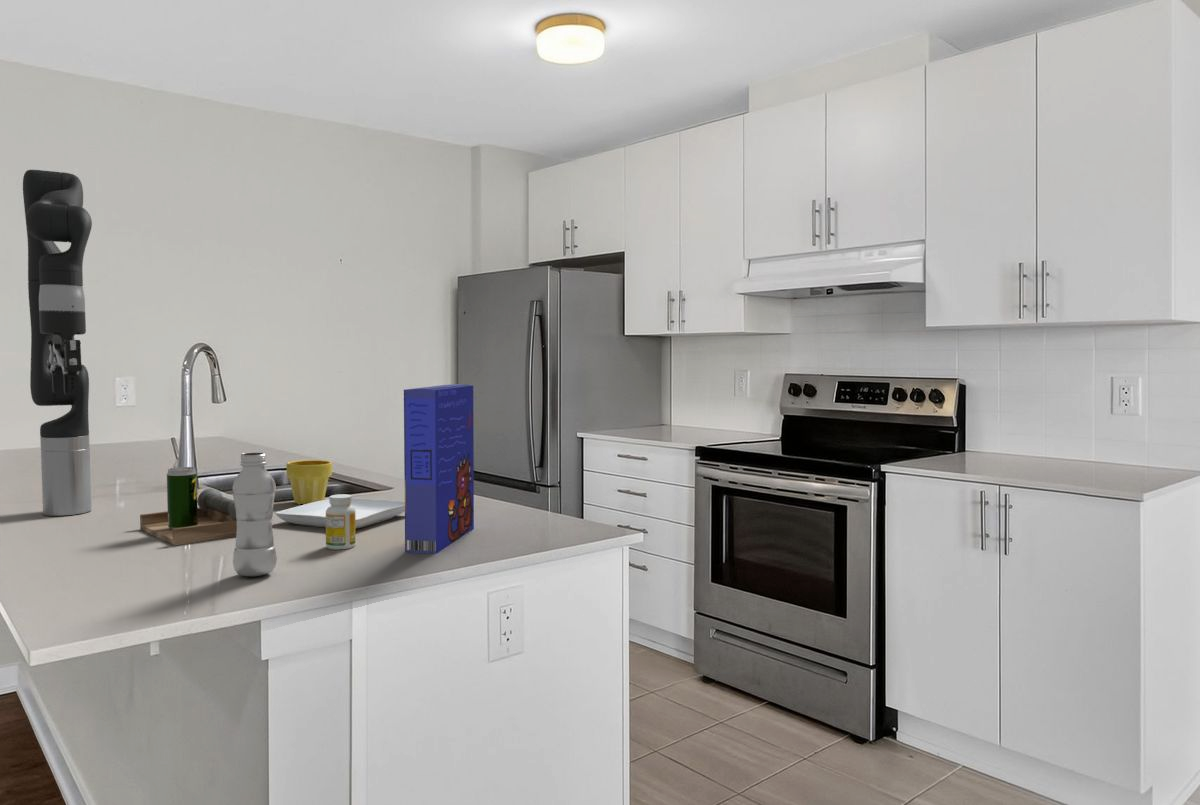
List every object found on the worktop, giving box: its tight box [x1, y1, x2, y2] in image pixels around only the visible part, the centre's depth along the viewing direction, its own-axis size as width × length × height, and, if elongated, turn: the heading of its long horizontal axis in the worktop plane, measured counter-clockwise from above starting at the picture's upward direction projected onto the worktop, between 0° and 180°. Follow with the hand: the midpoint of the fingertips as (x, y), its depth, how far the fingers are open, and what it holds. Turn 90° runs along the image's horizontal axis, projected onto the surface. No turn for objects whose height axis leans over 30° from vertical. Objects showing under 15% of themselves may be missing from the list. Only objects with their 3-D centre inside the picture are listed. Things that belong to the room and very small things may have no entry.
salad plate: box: [275, 497, 405, 530], centre depth 184 cm, size 21×21×3 cm
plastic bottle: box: [231, 452, 278, 578], centre depth 139 cm, size 6×7×20 cm
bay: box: [139, 487, 237, 546], centre depth 172 cm, size 20×16×7 cm
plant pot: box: [286, 459, 333, 505], centre depth 204 cm, size 10×10×10 cm
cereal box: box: [403, 383, 475, 555], centre depth 165 cm, size 22×6×30 cm, turn 170°
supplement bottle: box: [325, 493, 357, 551], centre depth 159 cm, size 5×5×10 cm
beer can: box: [166, 466, 198, 531], centre depth 170 cm, size 5×5×12 cm
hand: (65, 393), depth 165 cm, fingers open, 8 cm apart
